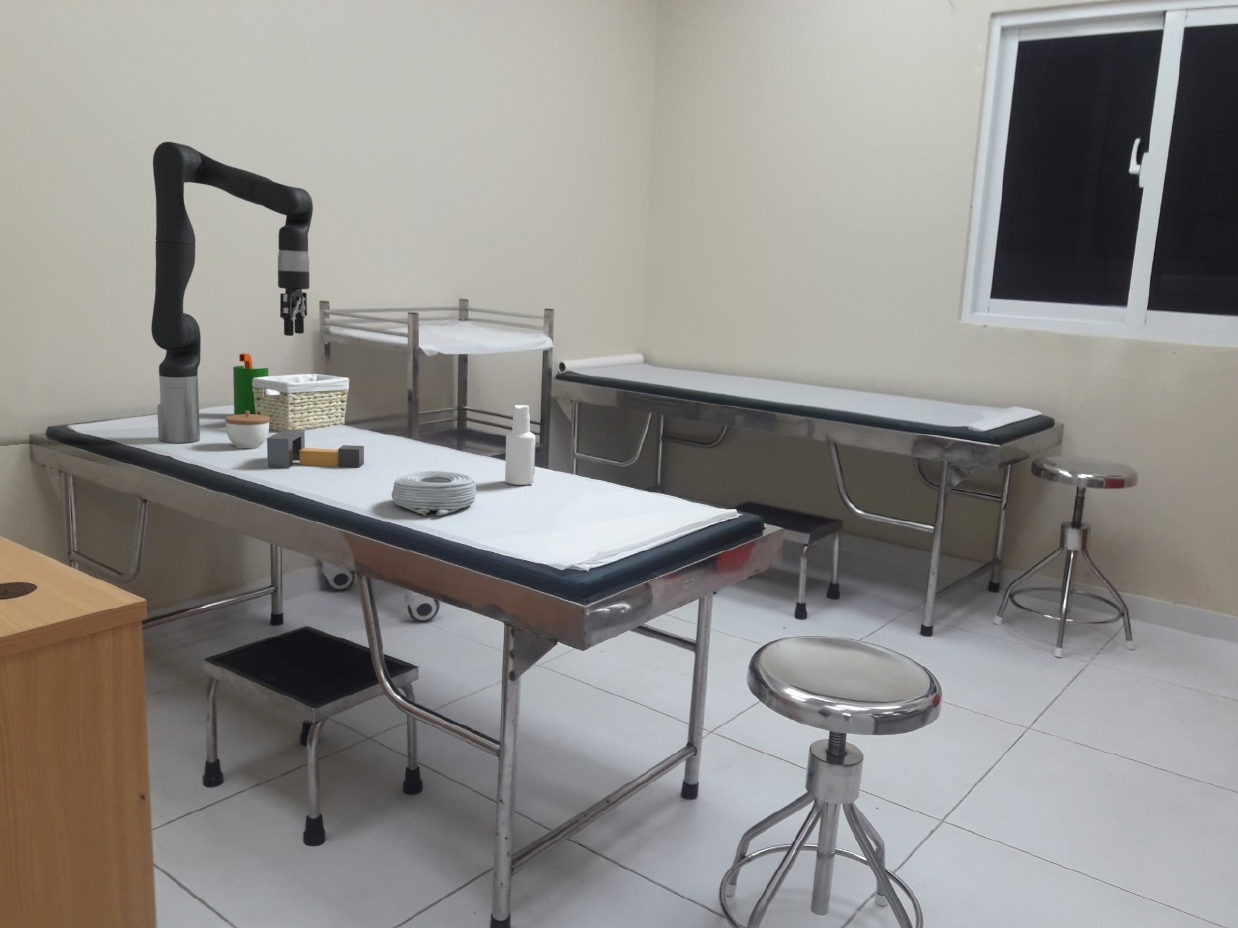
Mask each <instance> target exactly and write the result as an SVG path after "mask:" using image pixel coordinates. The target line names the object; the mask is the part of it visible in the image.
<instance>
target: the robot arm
mask: <svg viewBox="0 0 1238 928" xmlns="http://www.w3.org/2000/svg"><path fill="white" fill-rule="evenodd" d="M152 157H153V158H152V168H153V169H152V170H153V171H152V172H153V181H154V182H153V183H154V190H155V192H154V193H155V224H156V225H155V229H156V230H155V277H154V278H155V281H154V282H155V285H154V287H155V291H154V300H153V301H154V302H153V307H152V308H153V309H152V310H153V311H152V318H151V326H150V327H151V329H150V330H151V336H152V338H153V341H154V343H155V344H156V345H157V346H158V347H159V348H160V349H162V350H165V352H166V353H165V357H164V359H163V360H162V361H161V363H159V366H158V375H159V376H158V379H159V381H158V382H159V396H160V397H159V401H160V403H158V404H157V407H156V409H157V429H158V431H157V433H158V441H159V442H163V443H164V442H165V443H175V444H176V443H177V444H178V443H179V444H180V443H181V444H182V443H193V442H199V441H200V440H201V435H200V434H201V430H200V429H201V428H200V426H201V425H200V404H199V403H200V401H199V399H200V398H199V379H198V378H199V374H198V372H199V371H198V370H199V366H200V363H201V350H202V349H201V348H202V347H201V344H202V343H201V339H202V336H201V329H200V326H199V325H200V324H198V322H197V320H196V319H195V317H193V316H192V315H190V314H188V313H185V312H184V298H185V293H186V289H187V286H188V284H189V281H190V279H191V278H192V277H191V276H192V273H193V272H194V271H193V270H194V267H195V262H196V235H195V234H196V233H195V231H194V227H193V225H192V222H191V220H190V217H189V214H188V212H187V209H186V205H185V193H184V192H185V184H186V183H191V184H192V183H193V184H198V185H199V184H200V185H206V186H211V187H213V188H217V189H220V190H222V191H223V192H226V193H227V194H229V195H231V196H234V197H236V198H238V199H240V200H244V201H246V202H248V203H252V204H254V205H259V206H262V207H264V208H266V209H268V210H270V211H273V212H275V213H277V214H280V215H283V216H285V217H286V218H285V223H284V226H281V227H280V228H279V230H278V254H277V286H278V288H279V289H285V293H284V292H283V293H282V292H281V293H280V295H279V296H280V301H279V302H280V303H279V305H280V306H279V311H280V312H279V313H280V314H279V317H280V319H282V320H283V334H284V336H286V337H287V336H290V337H291V336H294V335H295V334H298V335H299V334H301V335H303V334H304V333H305V330H304V329H305V319H306V317H307V316H308V297H307V296H308V294H307V292H304V291H303V290H309V289H310V258H309V232H310V228H311V223H312V219H313V211H314V204H313V199H312V197H311V195H310V193H309V192H308V191H307V190H306V189H304V188H302V187H301V188H300V187H294V186H291V185H290V186H289V185H286V184H283V183H279V182H275V181H273V180H272V179H270V178H268V177H266V176H262V175H260V174H257V173H254V172H251V171H249V170H248V171H247V170H245V169H242V168H238V167H234V166H232V165H231V166H230V165H227V164H225V163H222V162H220V161H217V159H213V158H211V157H210V156H208V155H206V154H204V153H202V152H201V151H199V150H197V149H195V148H193V147H192V146H189V145H186V144H182V143H179V142H178V143H177V142H173V141H163V142H161V143H159V144H158V146H157V147H156V148H155V150H154V153H153V156H152Z"/></svg>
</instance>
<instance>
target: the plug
mask: <svg viewBox="0 0 1238 928" xmlns="http://www.w3.org/2000/svg"><path fill="white" fill-rule="evenodd" d="M299 459H300V460H299V465H300V466H319V467H320V466H321V467H338V468H355V469H356V468H357V469H359V468H361V467H362V466H363V465H365V446H364V445H354V444H353V445H347V444H343V445H342V446H340V447H339V448H337V449H335V448H334V449H333V448H332V449H331V448H309V447H305V448H303V449H301V450H300V451H299Z"/></svg>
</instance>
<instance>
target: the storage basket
mask: <svg viewBox="0 0 1238 928" xmlns="http://www.w3.org/2000/svg"><path fill="white" fill-rule="evenodd" d="M252 386H253V393H254V401H255V413H256V414H257V415H265V416H268V417H269V419H270V421H269V430H272V429H274V430H273V431H278V430H280V431H282V430H284V429H288V430H302V429H306V430H310V429H309V428H313V429H318V428H317V427H320V428H325V427H324V426H327V427H331V426H330V424H331V425H334V426H340V425H344V424H345V423H346V422H345V419H346V417H345V416H346V411H347V403H348V402H347V401H348V394H349V389H350V378H349V377H345V376H344V377H343V376H336V375H330V374H329V375H328V374H319V373H313V374H312V373H306V374H305V373H299V374H288V375H287V374H286V375H270V376H269V375H268V376H266V377H257V378H256V377H255V378H253V382H252ZM280 431H279V432H280Z"/></svg>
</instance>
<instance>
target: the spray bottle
mask: <svg viewBox="0 0 1238 928" xmlns="http://www.w3.org/2000/svg"><path fill="white" fill-rule="evenodd" d="M513 407H514V408H513V409H514V410H513V411H514V412H513V414H512V428H511V429H512V430H511V431H510V432H508V433H507V434H506V435H505V436H506V438H505V468H504V469H505V471H504V473H505V474H504V475H505V476H504V481H505V483H507V484H509V485H515V486H525V485H526V486H527V485H531V484H533V483H534V482H535V471H536V469H535V462H536V435H535V434H534V433H533V432H531V424H530V423H531V422H530V419H531V416H530V406H529V405H526V404H515V405H514V406H513Z"/></svg>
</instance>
